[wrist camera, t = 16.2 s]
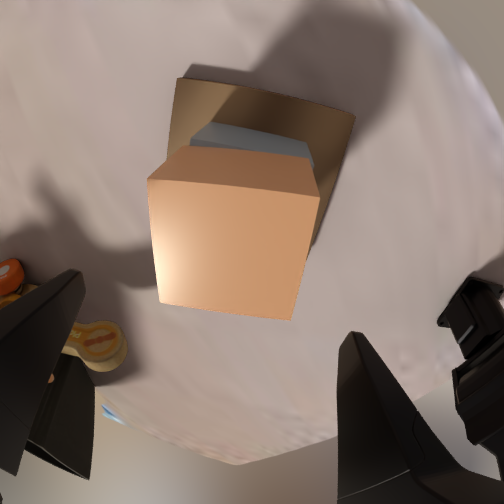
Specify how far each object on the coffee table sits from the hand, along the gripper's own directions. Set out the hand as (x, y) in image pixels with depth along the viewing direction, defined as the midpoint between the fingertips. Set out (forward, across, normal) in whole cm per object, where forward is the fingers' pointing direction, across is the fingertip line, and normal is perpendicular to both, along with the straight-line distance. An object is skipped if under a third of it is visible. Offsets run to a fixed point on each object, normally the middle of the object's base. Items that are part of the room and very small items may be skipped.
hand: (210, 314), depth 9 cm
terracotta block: (+8, 0, 0) cm, 8 cm away
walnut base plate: (+13, 0, 0) cm, 13 cm away
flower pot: (+13, +25, +35) cm, 45 cm away
